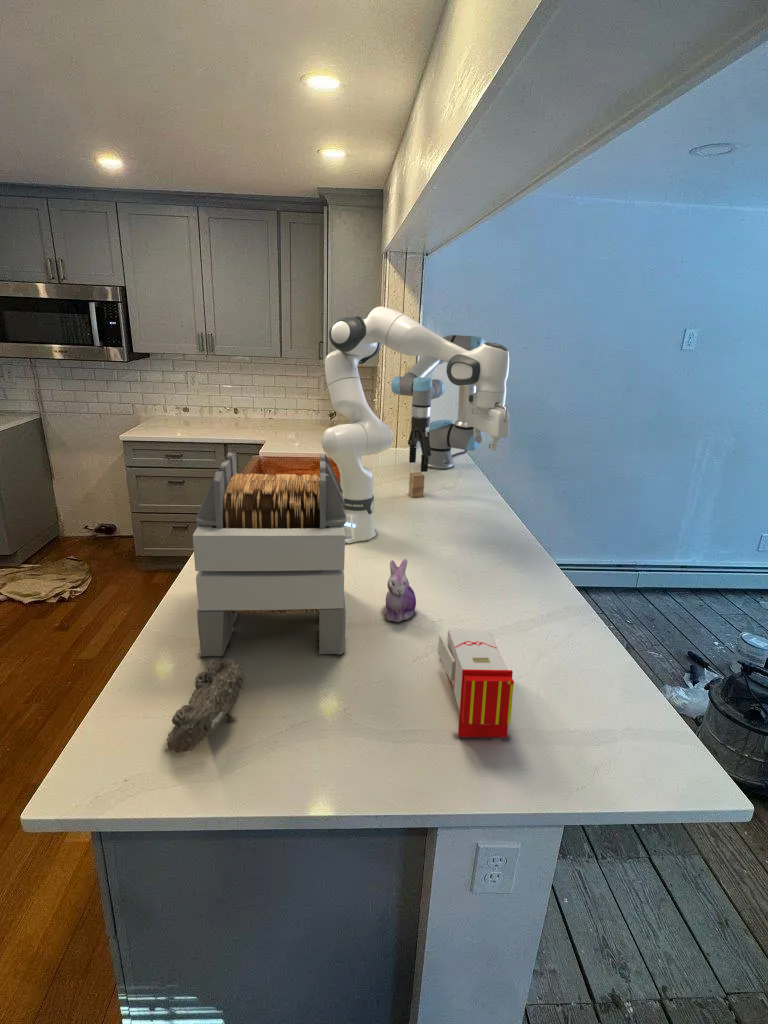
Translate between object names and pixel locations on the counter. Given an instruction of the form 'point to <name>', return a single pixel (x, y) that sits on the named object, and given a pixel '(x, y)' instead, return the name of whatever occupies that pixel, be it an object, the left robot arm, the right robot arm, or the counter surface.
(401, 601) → the figurine
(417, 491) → the brown wooden block
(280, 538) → the transformer
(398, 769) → the counter surface
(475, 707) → the toy
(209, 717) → the fossil
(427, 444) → the right robot arm
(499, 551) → the counter surface
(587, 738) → the counter surface
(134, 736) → the counter surface
